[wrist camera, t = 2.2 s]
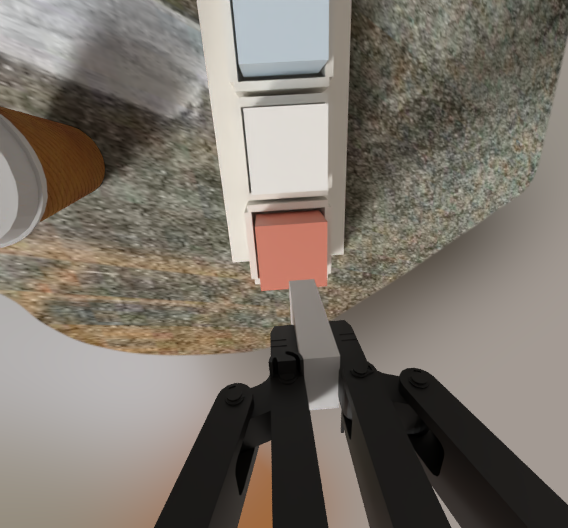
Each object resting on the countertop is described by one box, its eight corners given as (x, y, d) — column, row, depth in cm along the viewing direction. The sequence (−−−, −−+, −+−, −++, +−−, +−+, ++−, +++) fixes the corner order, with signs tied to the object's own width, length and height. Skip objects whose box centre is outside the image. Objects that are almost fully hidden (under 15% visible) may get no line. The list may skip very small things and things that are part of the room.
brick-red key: (256, 214, 26) (254, 226, 22) (318, 210, 26) (327, 221, 22) (261, 270, 28) (261, 290, 24) (319, 266, 28) (327, 285, 24)
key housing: (197, -9, 22) (179, -47, 18) (348, -16, 23) (369, -55, 18) (234, 265, 32) (229, 286, 27) (341, 257, 32) (353, 277, 28)
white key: (246, 113, 22) (243, 108, 19) (318, 109, 22) (328, 103, 19) (253, 186, 25) (251, 194, 21) (318, 182, 25) (327, 190, 21)
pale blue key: (234, -22, 19) (226, -60, 15) (317, -26, 19) (329, -64, 16) (243, 77, 21) (238, 64, 18) (318, 73, 21) (328, 59, 18)
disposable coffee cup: (114, 107, 25) (-4, 83, 14) (129, 213, 29) (46, 259, 18) (-2, 98, 25) (-219, 65, 14) (30, 208, 28) (-121, 252, 17)
